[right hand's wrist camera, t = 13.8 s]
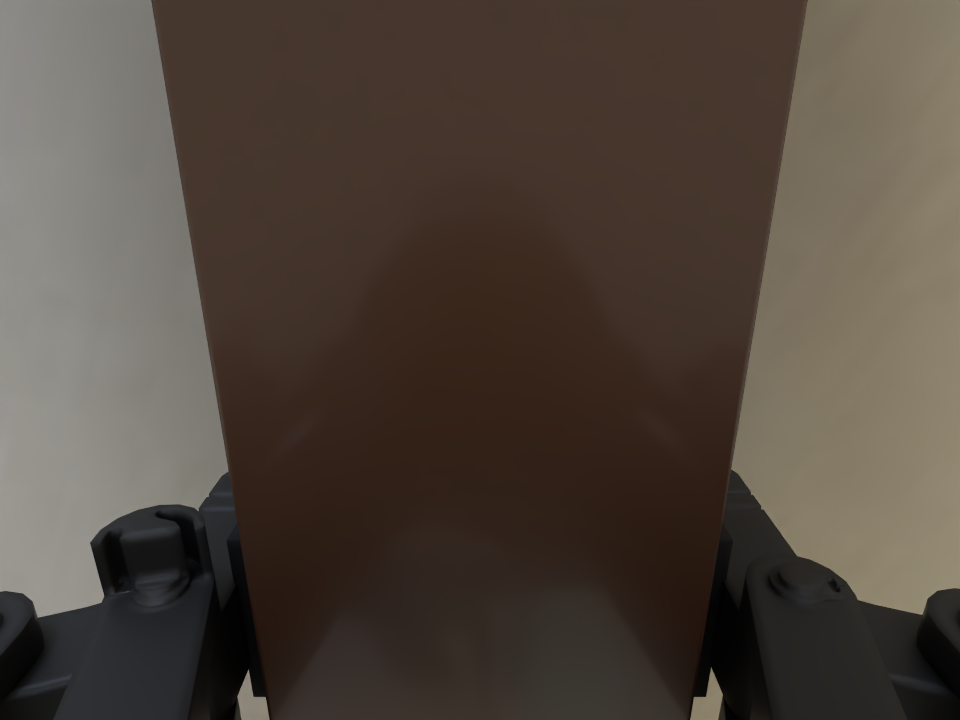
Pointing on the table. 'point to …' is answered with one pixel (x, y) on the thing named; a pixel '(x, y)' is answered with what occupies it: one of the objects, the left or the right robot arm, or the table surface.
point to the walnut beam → (479, 333)
